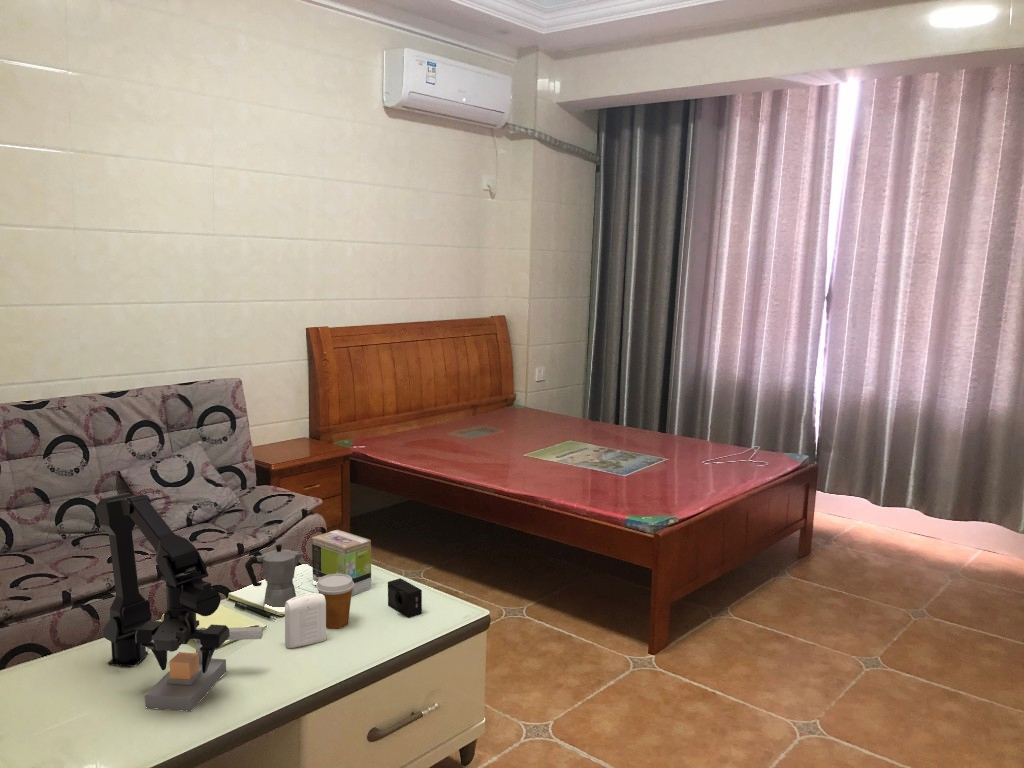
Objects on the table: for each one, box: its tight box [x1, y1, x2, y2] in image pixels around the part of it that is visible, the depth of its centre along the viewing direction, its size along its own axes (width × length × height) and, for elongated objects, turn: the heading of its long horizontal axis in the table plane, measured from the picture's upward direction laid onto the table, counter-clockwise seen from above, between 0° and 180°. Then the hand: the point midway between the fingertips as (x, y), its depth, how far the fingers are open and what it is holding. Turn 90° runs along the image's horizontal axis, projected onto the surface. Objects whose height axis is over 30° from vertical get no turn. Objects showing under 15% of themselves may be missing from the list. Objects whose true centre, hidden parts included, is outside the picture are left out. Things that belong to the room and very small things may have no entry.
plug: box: [167, 651, 203, 685], centre depth 182 cm, size 5×5×8 cm
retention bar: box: [193, 626, 264, 642], centre depth 190 cm, size 3×15×2 cm, turn 96°
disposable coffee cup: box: [315, 574, 354, 630], centre depth 216 cm, size 10×10×12 cm
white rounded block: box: [284, 592, 327, 649], centre depth 206 cm, size 10×4×12 cm, turn 123°
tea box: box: [311, 529, 372, 597], centre depth 240 cm, size 15×10×15 cm, turn 51°
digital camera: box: [387, 578, 423, 619], centre depth 226 cm, size 10×5×7 cm, turn 40°
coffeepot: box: [244, 544, 305, 607], centre depth 224 cm, size 15×9×18 cm, turn 117°
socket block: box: [144, 640, 227, 712], centre depth 183 cm, size 10×17×8 cm, turn 174°
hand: (184, 671), depth 182 cm, fingers open, 9 cm apart
